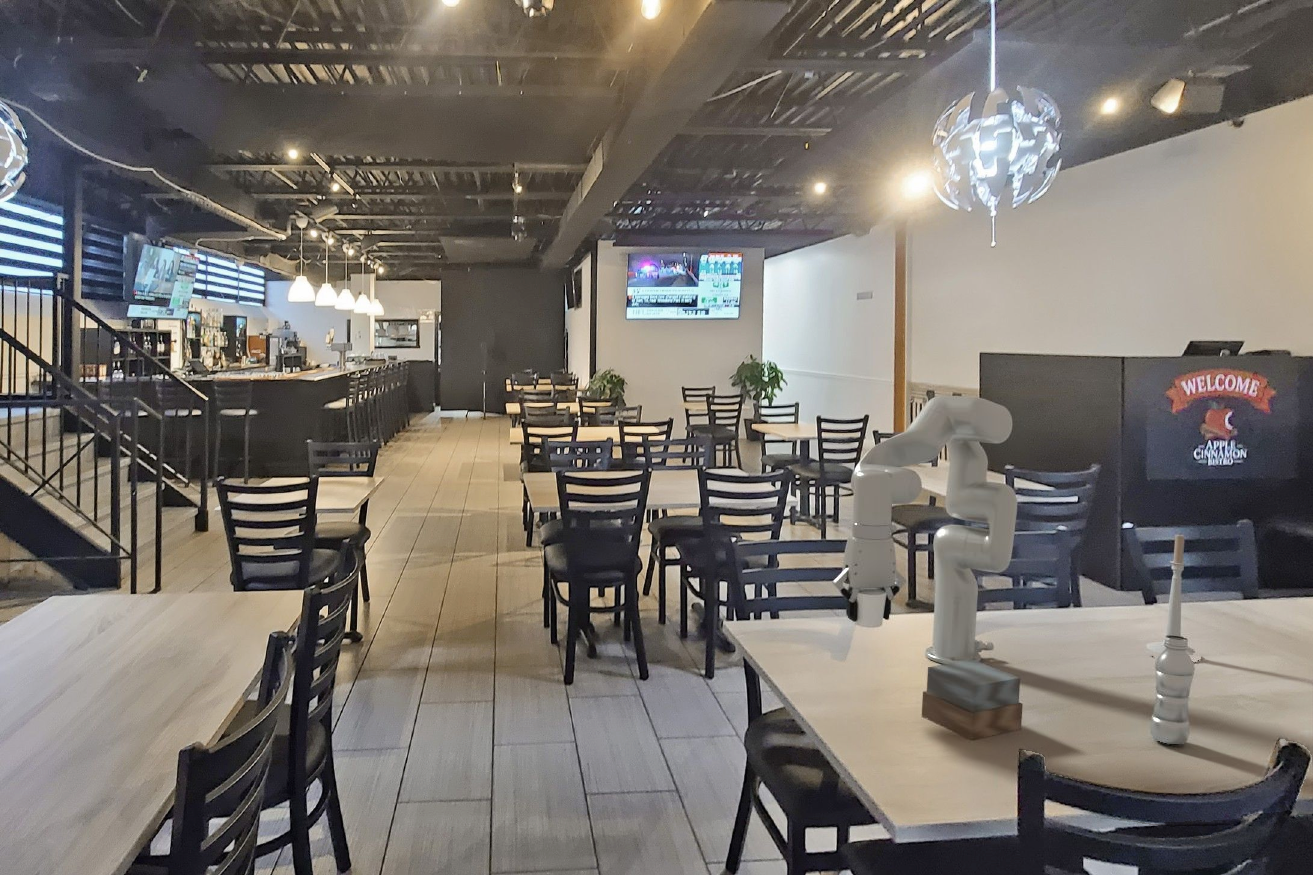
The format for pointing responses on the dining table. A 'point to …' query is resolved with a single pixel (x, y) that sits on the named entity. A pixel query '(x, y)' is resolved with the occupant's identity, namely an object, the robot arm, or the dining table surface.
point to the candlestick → (1174, 599)
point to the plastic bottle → (1172, 692)
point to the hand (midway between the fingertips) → (868, 617)
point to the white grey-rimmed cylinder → (870, 607)
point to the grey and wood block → (972, 699)
